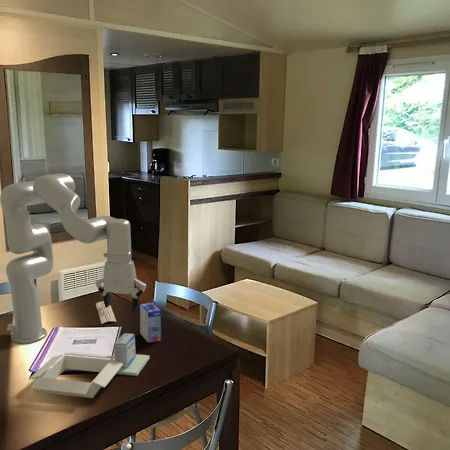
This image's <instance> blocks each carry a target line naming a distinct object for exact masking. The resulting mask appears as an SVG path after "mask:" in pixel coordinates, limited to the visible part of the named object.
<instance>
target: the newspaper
mask: <svg viewBox="0 0 450 450" xmlns="http://www.w3.org/2000/svg"><path fill="white" fill-rule="evenodd" d="M95 307H96V310H97V313H98V317H99V320H100V324H101V325H104V324H105V323H107V322H114V323H117V320H116V316H115V314H114V312H113V309H112V305H110V306H108V307H107V308H105V304H104V300H103V301H98V302H95Z"/></svg>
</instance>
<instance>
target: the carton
mask: <svg viewBox="0 0 450 450" xmlns="http://www.w3.org/2000/svg"><path fill="white" fill-rule="evenodd" d="M114 358H115V356H114V355H106V354H95V353H94V354H93V353H85V352H84V353H83V352H73V351H72V352H71V351H69V352H65V353H64V354H59V355H55V356H52V357H51V358H50V359H49V360H48V361H46V363H44V365H42V366H41V367H40V368H38V370H37V371H36V372H35V373H33V374H32V375H31V376H30V377H29V378H28V380H33V379H36V380H35V382H34V384H33V385H32V387H31V390H38V391H39V392H40V393H43V394H44V393H45V394H51V395H59V396H60V395H62V396H71V397H80V398H88V399H89V398H90V399H93V398H94V397H95V396H96V394H97V393H98V392H99V391H100V390H101V388H104V389H105V387H107V385H108V384H109V383H110V382H111V380H113V378H114V376H116V373H117V372H118V370H119V369H120V368H121V367H122V365H123V364H122V363H120V362H118V361H116V360H113V359H114ZM111 359H112V360H111ZM66 369H67V370H74V371H75V370H77V371H85V372H86V371H87V372H95V373H97V372H98V374H97V375H96V377H95V378H94V379H93V380H92V381H91V382H89V381H87V382H86V381H79V380H68V379H58V377H59V376H60V375H61V374H62V373H64V371H65V370H66Z"/></svg>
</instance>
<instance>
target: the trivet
mask: <svg viewBox="0 0 450 450" xmlns="http://www.w3.org/2000/svg"><path fill="white" fill-rule="evenodd" d="M113 356H115V354H114V355H113ZM150 358H151V357H150V355H146V354H139V353H138V354H136V357H135V358H134V360H133V361H132V362H131V364H130V365H129V367H128V368H123V367H121V368H120V369H119V370H118V372H117V373H116V374H117V375H125V376H135V377H137V376H138V375H139V374H140V372H141V371H142V369H143V368H144V367H145V365H146V364H147V362H148V361H149V360H150ZM110 360H112V359H110ZM113 360H115V358H114V359H113ZM116 374H115V375H116Z"/></svg>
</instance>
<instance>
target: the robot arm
mask: <svg viewBox="0 0 450 450" xmlns="http://www.w3.org/2000/svg"><path fill="white" fill-rule="evenodd" d="M75 189H76V183H75V181H74V179H73V178H72V177H71V175H69V174H67V173H64V172H63V173H62V172H60V173H52V174H43V175H41V176H39V177H37V178H36V179H35V180H29V181H22V182H16V183H11V184H9V185H7V186H5V187H4V188H3V189H2V191H1V192H0V207H1V210H2V212H3V216H4V220H5V223H4V224H5V231H6V240H7V245H8V249H9V251H10V252H11V253H12V254H15V255H22V254H25V255H22V256H18V257H16V258H14V259H12V260H10V261H9V262H8V263H7V265H6V267H5V272H6V276H7V280H8V283H9V287H10V291H11V301H12V302H11V303H12V311H13V321H14V323H9V324H7V328H6V331H7V332H12V334H11V337H10V338H11V341H12V342H13V343H15V344H31V343H35V342H38V341H40V340H43V339H44V338H45V337H46V336H47V335H48V331H47V329H46V328H43V324H42V321H43V320H42V311H41V301H40V291H39V288H38V287H37V285H36V284H35V283H34V280H36V279H38V278H41V277H45V276H47V275H48V274H50V273H51V272H52V271H53V269H54V253H53V243H52V242H53V241H52V236H51V233H50V232H51V231H50V230H49V229H48V228H47V227H46V226H45V225H43V224H42V223H35V224H32V221H31V220H32V219H31V215H30V212H29V211H28V210H27V208H25V207H28V206H34V205H39V204H40V205H41V204H47V205H48V206H49V207H50V208H52V209H53V210H55V211H56V213H59V215H60V221H61V224H62V227H63V229H64V230H65V232H67V233H68V234H69V235H70V236H71V237H72V238H74V239H75V240H76V241H79V242H80V243H82V244H86V245H87V244H88V245H89V244H93V243H96V242H99V241H103V240H106V252H105V253H103V257H104V258H106V261H105V262H104V267H103V275H102V276H103V277H102V278H100V279H98V280H97V281H95V282H94V284H95V286H96V288H97V291H98V292H99V293H101V296H102V298H103V301H104V304H105V308H107V307H108V306H112V305H111V303H112V302H111V299H112V298H111V294H112V293H113V294H124V295H125V294H126V295H127V294H128V295H129V294H130V295H131V296H132V300H131V301H132V302H131V303H132V310H133V311H136V310H137V309H138V308H139V307H140V296H141V295H142V294H143V293H144V292H145V290H146V288H147V284H146V283H144V282H142V281H141V280H139V279H137V272H136V267H135V263H134V260H132V237H131V223H130V221H129V220H127V219H126V218H125V219H124V218H115V217H112V216H109V215H102V216H97V217H92V218H88V219H84V218H82V217H81V216H79V215H78V214H77V213H76V212H77V211H78V209H79V208H80V205H81V198H80V196H79V195H78V194H77V192H75ZM29 252H32V253H29ZM26 253H28V254H26ZM138 287H139V288H140V289H139V290H138V289H137V288H138Z"/></svg>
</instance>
